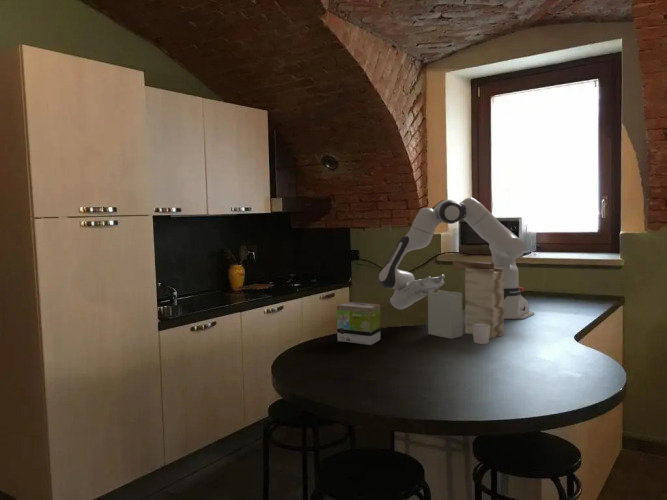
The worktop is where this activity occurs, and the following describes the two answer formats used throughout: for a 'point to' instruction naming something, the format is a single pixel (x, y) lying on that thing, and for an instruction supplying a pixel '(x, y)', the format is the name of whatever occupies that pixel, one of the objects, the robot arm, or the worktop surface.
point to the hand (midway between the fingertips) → (437, 277)
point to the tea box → (358, 323)
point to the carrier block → (445, 314)
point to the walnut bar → (472, 265)
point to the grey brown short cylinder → (481, 333)
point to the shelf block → (485, 299)
